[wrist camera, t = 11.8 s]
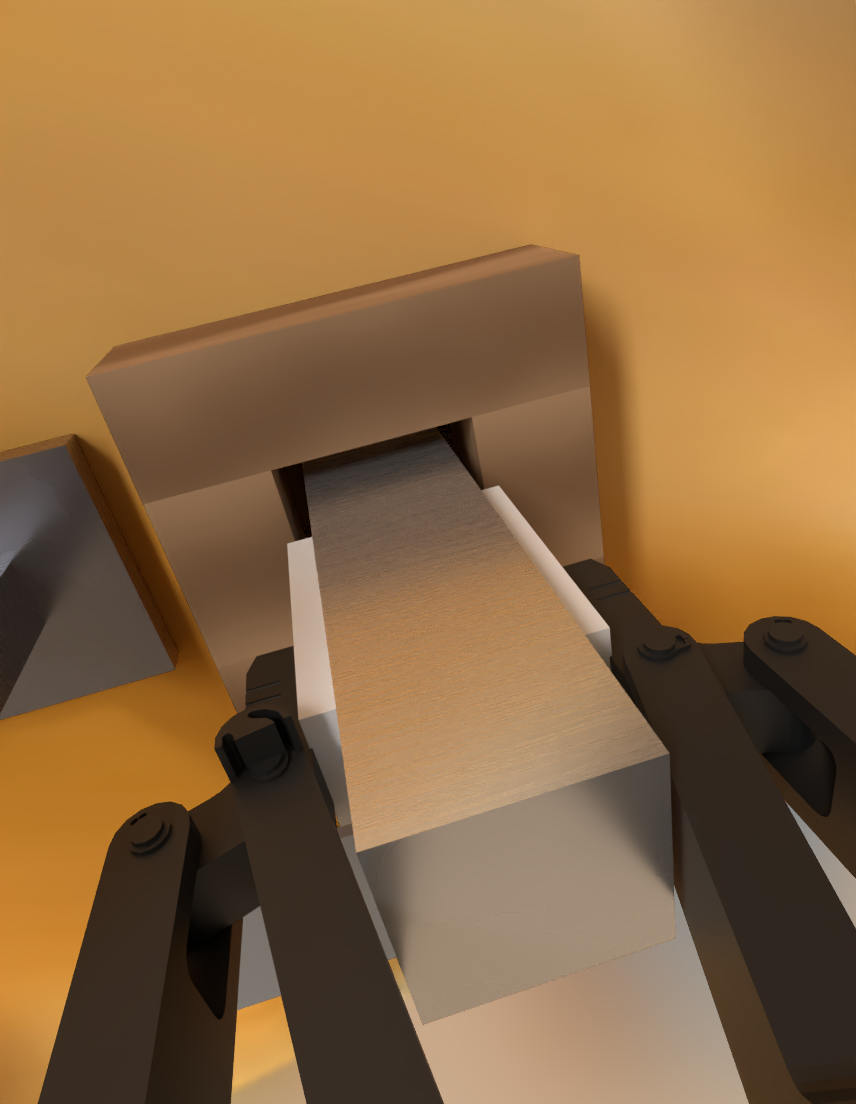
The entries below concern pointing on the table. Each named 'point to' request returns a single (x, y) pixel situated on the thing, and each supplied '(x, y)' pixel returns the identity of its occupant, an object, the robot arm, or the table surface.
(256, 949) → the mat
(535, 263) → the eye block
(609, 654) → the robot arm
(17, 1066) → the table surface
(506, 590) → the peg
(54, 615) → the handle post
